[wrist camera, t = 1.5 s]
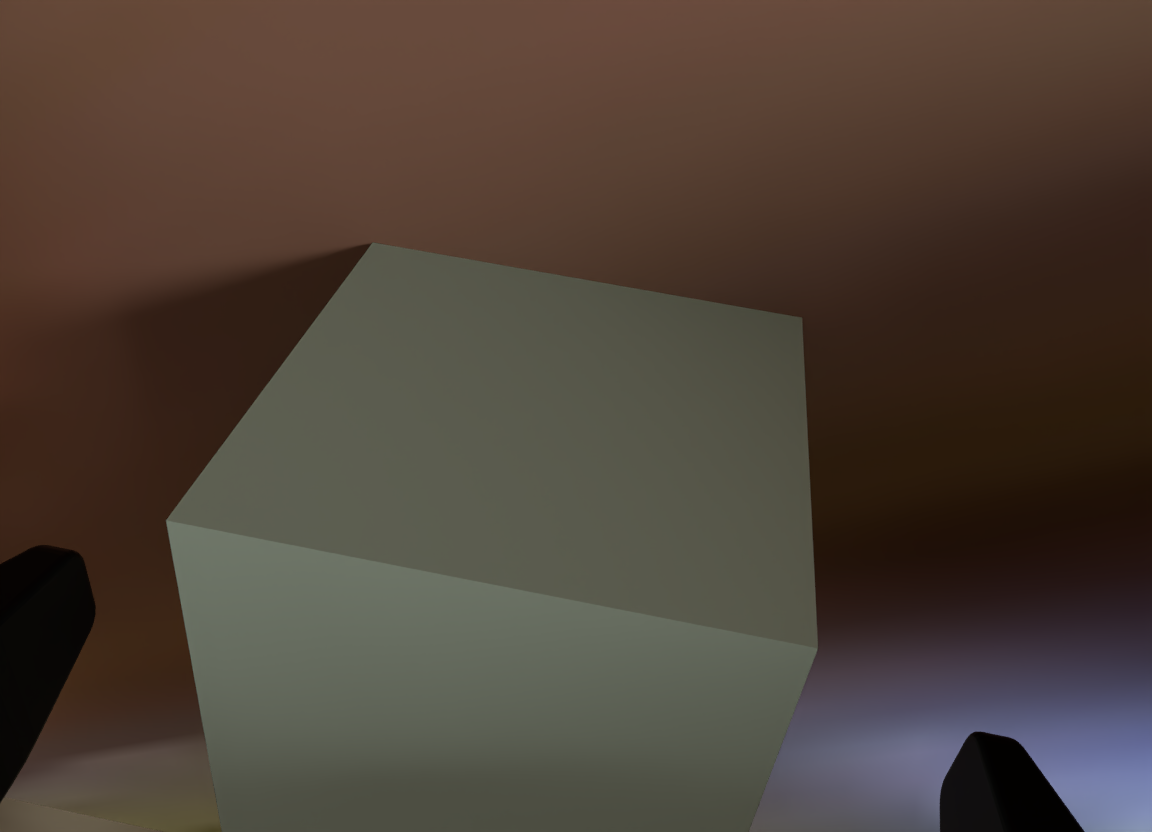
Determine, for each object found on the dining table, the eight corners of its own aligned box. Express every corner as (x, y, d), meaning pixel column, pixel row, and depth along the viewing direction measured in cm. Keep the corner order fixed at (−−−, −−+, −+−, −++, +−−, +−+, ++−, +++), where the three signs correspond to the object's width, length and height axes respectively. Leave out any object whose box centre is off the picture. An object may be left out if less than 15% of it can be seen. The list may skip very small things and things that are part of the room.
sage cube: (801, 313, 11) (817, 648, 7) (717, 615, 14) (695, 971, 10) (375, 239, 12) (165, 520, 8) (378, 548, 15) (228, 869, 11)
